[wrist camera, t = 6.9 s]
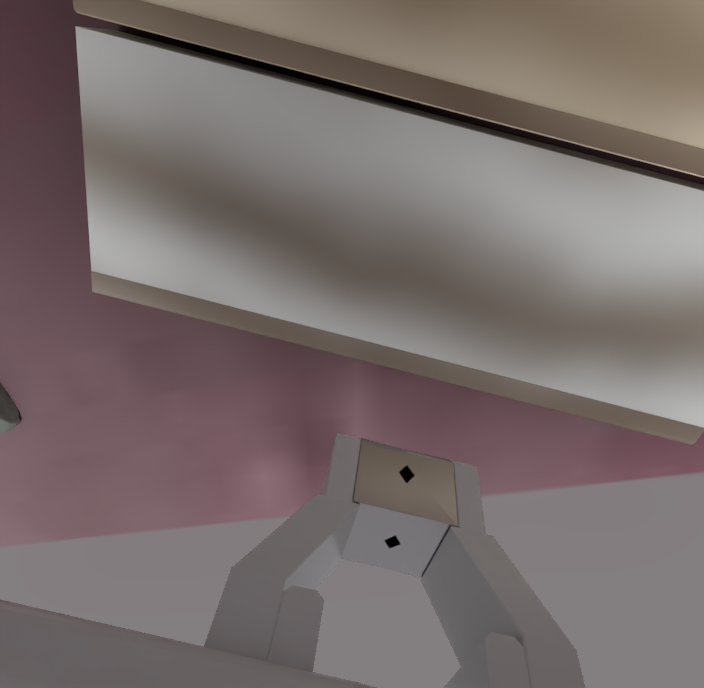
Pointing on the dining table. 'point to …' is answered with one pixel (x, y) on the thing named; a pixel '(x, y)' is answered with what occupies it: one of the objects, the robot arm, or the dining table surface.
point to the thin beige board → (480, 59)
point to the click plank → (393, 235)
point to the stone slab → (7, 412)
